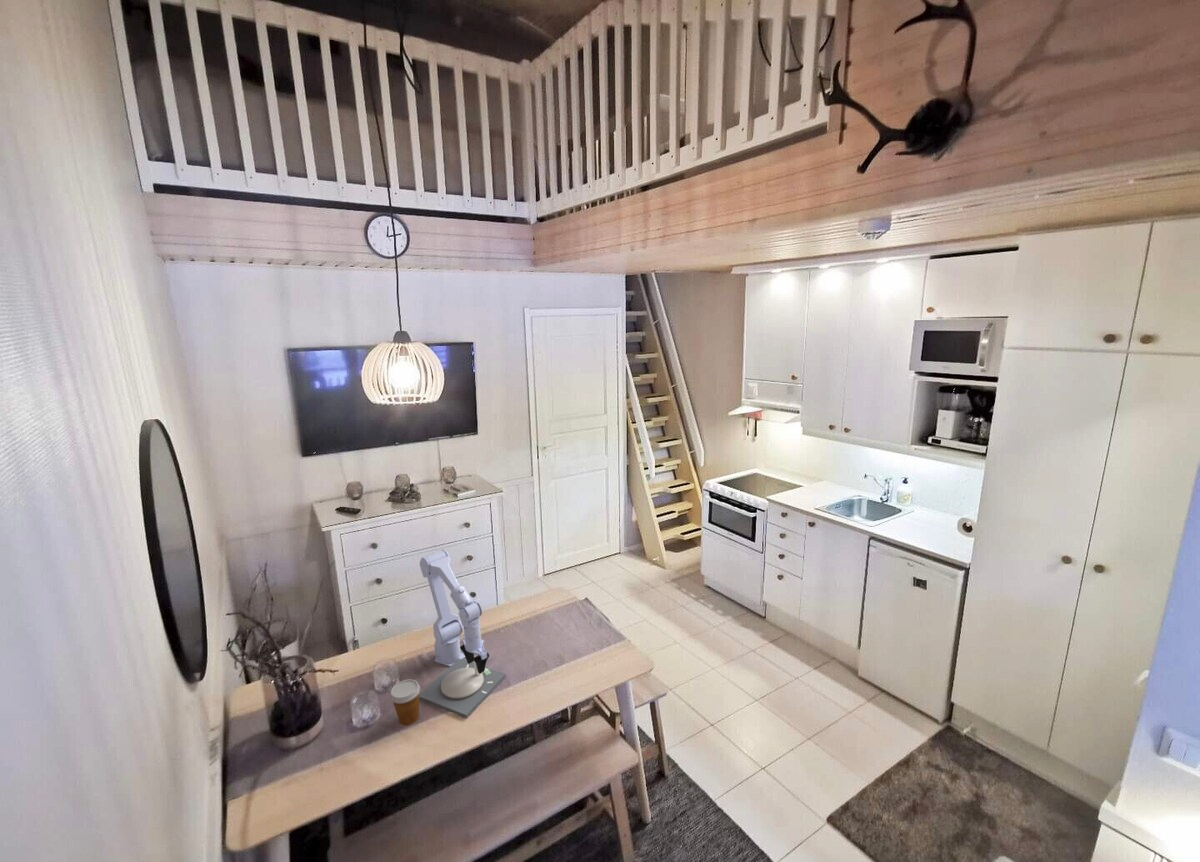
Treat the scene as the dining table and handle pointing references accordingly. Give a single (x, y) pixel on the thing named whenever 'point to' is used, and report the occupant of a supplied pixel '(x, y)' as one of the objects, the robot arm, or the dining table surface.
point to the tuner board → (462, 705)
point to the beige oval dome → (462, 683)
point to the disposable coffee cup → (406, 701)
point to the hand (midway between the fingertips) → (476, 667)
